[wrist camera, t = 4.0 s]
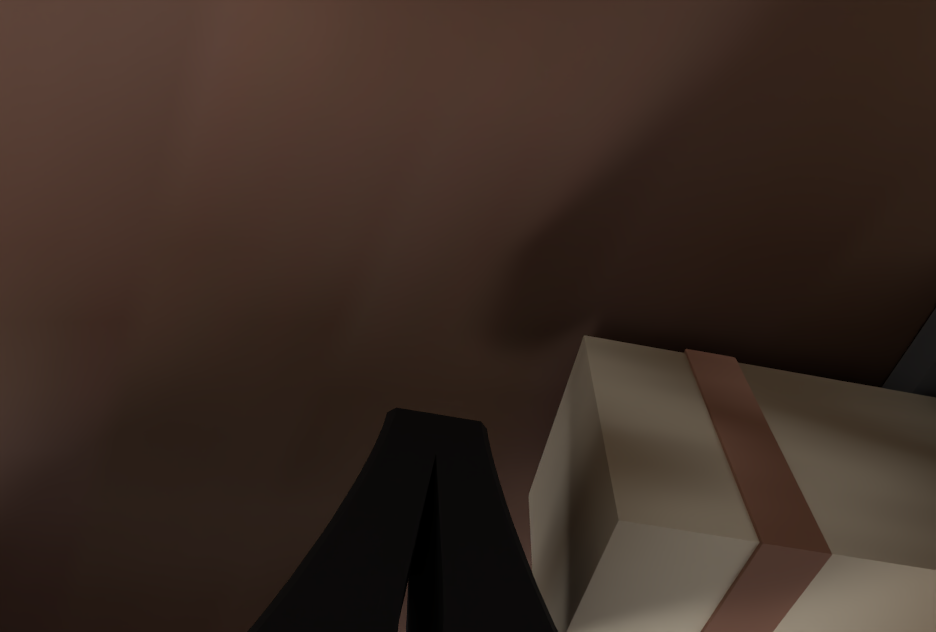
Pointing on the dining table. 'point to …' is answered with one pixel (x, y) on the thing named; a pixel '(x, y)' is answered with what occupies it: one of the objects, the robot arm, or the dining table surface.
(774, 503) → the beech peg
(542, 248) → the dining table surface
